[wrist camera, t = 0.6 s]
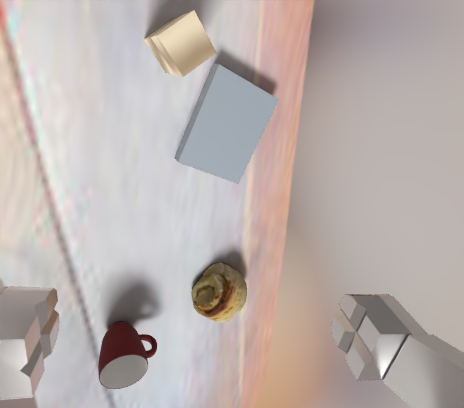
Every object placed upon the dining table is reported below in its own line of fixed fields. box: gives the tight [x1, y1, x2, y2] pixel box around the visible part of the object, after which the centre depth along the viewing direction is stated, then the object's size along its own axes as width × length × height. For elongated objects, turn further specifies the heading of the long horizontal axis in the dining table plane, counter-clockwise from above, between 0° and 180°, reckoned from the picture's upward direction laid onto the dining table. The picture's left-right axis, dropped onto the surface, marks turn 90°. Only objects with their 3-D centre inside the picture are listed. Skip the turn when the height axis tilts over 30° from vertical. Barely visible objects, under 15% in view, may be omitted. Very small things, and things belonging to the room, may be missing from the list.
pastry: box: [191, 262, 247, 322], centre depth 63 cm, size 14×12×8 cm
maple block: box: [144, 10, 216, 77], centre depth 39 cm, size 5×5×10 cm
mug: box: [98, 321, 157, 389], centre depth 57 cm, size 10×8×10 cm
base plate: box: [175, 64, 279, 184], centre depth 51 cm, size 16×12×3 cm
